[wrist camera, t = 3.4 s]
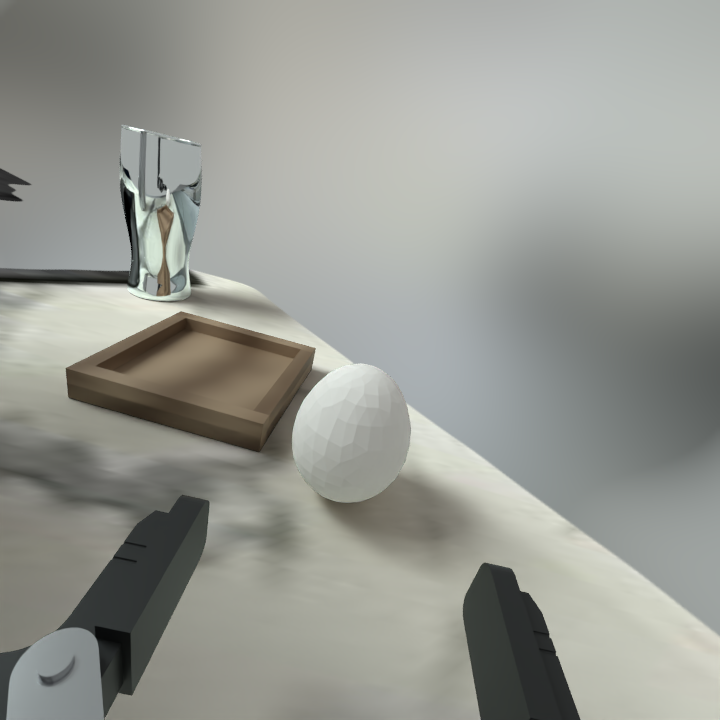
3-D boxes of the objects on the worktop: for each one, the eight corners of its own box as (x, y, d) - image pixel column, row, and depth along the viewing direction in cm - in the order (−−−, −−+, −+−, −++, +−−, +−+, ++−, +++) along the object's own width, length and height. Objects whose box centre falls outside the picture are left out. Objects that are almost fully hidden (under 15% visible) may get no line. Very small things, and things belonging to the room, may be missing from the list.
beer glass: (144, 276, 45) (144, 129, 39) (205, 290, 46) (214, 147, 40) (107, 292, 39) (100, 119, 33) (178, 308, 39) (185, 141, 33)
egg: (258, 488, 21) (279, 360, 18) (325, 439, 26) (350, 332, 23) (354, 555, 18) (397, 420, 15) (407, 487, 23) (447, 375, 20)
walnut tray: (68, 397, 24) (65, 368, 23) (180, 332, 35) (181, 311, 34) (259, 452, 23) (263, 424, 22) (311, 369, 34) (315, 348, 33)
